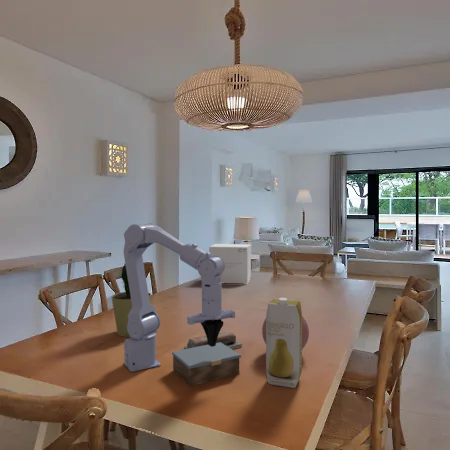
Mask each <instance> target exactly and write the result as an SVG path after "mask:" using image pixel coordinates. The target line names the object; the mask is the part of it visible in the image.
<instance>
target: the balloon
mask: <svg viewBox="0 0 450 450" xmlns="http://www.w3.org/2000/svg"><path fill="white" fill-rule="evenodd" d="M261 328H262V329H261V334H262V338H263V341H264V342H263V343H264V344H266V318H265V319H264V321H263V323H262V327H261ZM309 330H310V329H309V325H308V323H307V320H306V318H305V317H304V315H302V350H303V349H304V348H305V346H306V344H308V341H309V337H310V336H309V334H310V331H309Z"/></svg>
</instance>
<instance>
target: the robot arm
mask: <svg viewBox="0 0 450 450" xmlns="http://www.w3.org/2000/svg"><path fill="white" fill-rule="evenodd" d="M123 237H124V246H123V257H124V263H125V264H124V265H126V271H127V277H128V283H129V289H130V295H131V301H132V309H131V311H130V312H129V314H128V325H127V330H128V333H129V335H130V336H131V337H128V338H126V339H125V340H124V345H123V346H124V347H123V348H124V349H123V350H124V355H123V356H124V359H123V360H124V362H123V363H124V365H125V366H126V368H127V369H128V370H129V371H130V372H131V373H132V372H137V371H141V370H146V369H150V368H155V367H160V366H161V363H160V362H159V361H158V360H157V332H158V329H159V328H160V326H161V319H160V316H159V315H158V312H157V311H156V307H155V306H154V305H153V304H152V303H151V302H150V300H149V294H148V293H149V290H148V281H147V277H146V270H145V265H144V259H143V255H144V253H145V251H147V249H148V248H149V247H151V245H154V244H159V245H161V246H163V247H164V248H166V249H169V250H171V251H172V252H174V253H176V254H178V255H179V260H180V261H181V262H183V263H185V264H186V265H188V266H189V267H192V268H193V269H195V270H197V271H198V274H199V276H200V278H201V312H200V313H196V314H193V315H188V316H187V317H186V318H187V325H189V326H193V325H194V324H200V325H201V326H202V329H203V331H204V334H205V336H206V337H207V340H208V345H209V346H211V347H213V346H216V341H217V338H218V335H219V333H221V329H222V328H223V326H224V321H223V320H226V319H235V318H236V311H234V310H233V309H227V310H226V309H225V310H223V309H222V308H223V307H222V306H223V305H222V304H223V303H222V302H223V301H222V300H223V297H222V295H223V294H222V292H223V291H222V290H223V289H222V285H223V284H222V273H223V271H224V269H225V264H224V261H223V260H222V259H221V258H220V257H219V256H216V255H215V256H211V253H209V251H205V250H202V249H201V248H200V247H198V246H199V245H198V244H197V243H195V242H194V243H183V242H182V241H180V240H179V239H177V238H176V237H174V236H173V235H172V234H170V233H169V232H167V231H165V230H164V229H163V227H162V226H161V227H160V226H158V225H156V224H155V223H152V222H149V223H143V224H137V223H134V224H131V225H130V226H128V227H127V229H126V230H125V231H124V233H123ZM220 274H221V275H220Z"/></svg>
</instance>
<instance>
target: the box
mask: <svg viewBox="0 0 450 450" xmlns="http://www.w3.org/2000/svg"><path fill="white" fill-rule="evenodd" d="M172 364H173V365H172V370H173V372H174V373H175V374H176V375H178V376H179V378H180V379H182V380H183V381H184V382H185V383H186V384H187V385H188V386H189V387H192V386H196V385H199V384H204V383H208V382H211V381H216V380H219V379H223V378H228V377H232V376H235V375H236V376H237V375H240V358H236V359H232V360H227V361H223V362H221V364H218V365H214V366H211V364H209V365H205V366H200V367H196V368H191V369H189V368H188V367H186V366H185V365H184V364H183V363H182V362H181V361H179V360H178V359H177V358H176V357H175V356H174V355H172Z"/></svg>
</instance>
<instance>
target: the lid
mask: <svg viewBox="0 0 450 450" xmlns="http://www.w3.org/2000/svg"><path fill="white" fill-rule="evenodd" d="M171 354H172V356H173V355H174V356H175V357H176V358H177V359H178V360H179V361H181V362H182V363H183V364H184V365H185V366H186V367H188V368H189V369H191V368H196V367H200V366H205V365H209V364H211V366H214V365H218V364H221V362H223V361H227V360H232V359H236V358H239V359H240V358H242V355H241V353H239V352H237V351H235V349H231V348H229V347H227V346H226V345H224V344H223V343H221V342H219V343H216V346H213V347H211V346H209V345H204V346H199V347H193V348H188V349H185V348H184V349H179V350H174V351H172V352H171Z"/></svg>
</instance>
